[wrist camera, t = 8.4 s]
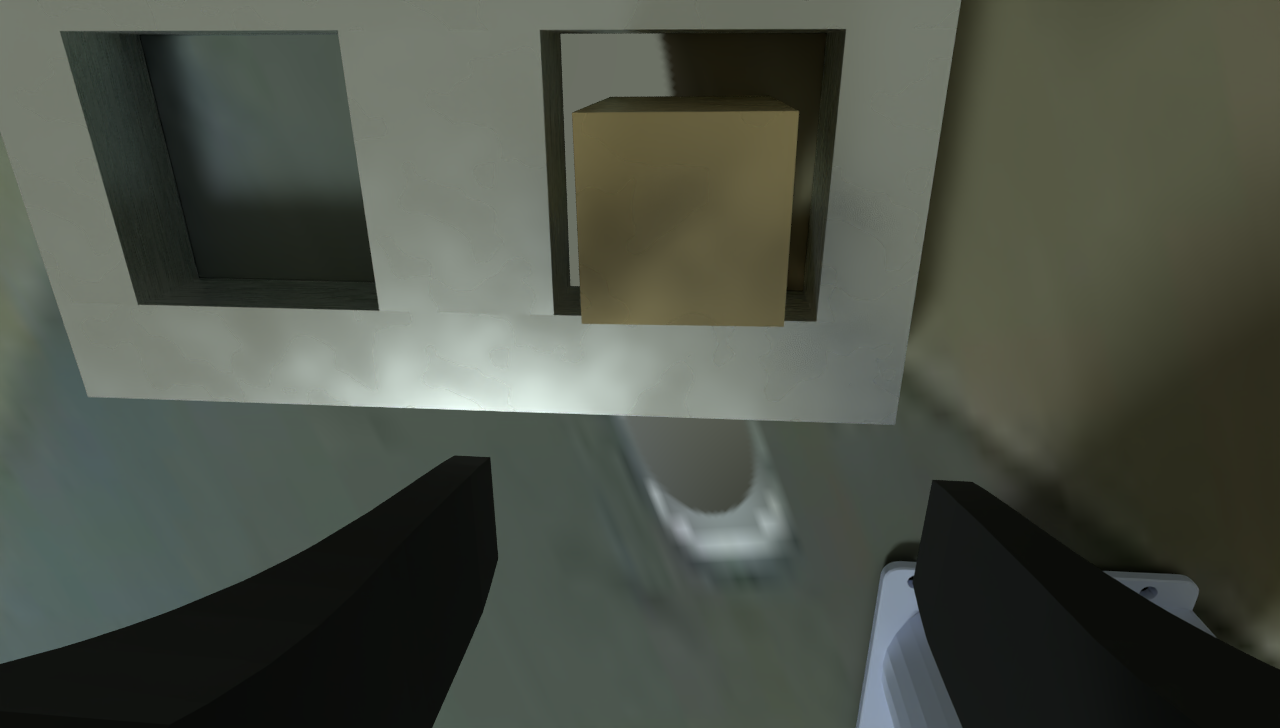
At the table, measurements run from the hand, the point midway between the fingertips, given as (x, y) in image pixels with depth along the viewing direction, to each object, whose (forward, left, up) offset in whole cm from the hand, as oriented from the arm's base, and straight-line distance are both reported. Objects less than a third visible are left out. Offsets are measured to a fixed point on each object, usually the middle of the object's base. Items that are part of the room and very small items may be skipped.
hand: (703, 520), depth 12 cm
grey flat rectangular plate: (+6, -4, -9) cm, 12 cm away
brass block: (+1, -4, -10) cm, 10 cm away
